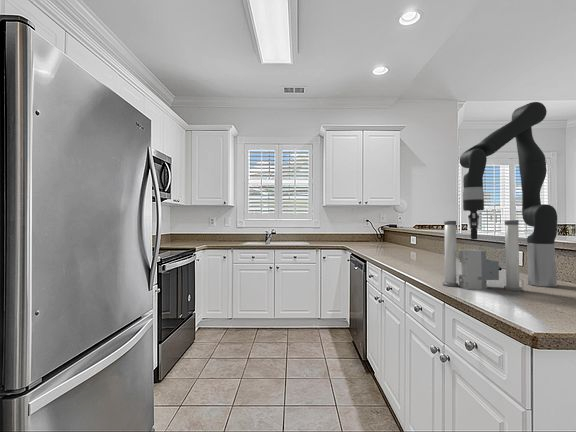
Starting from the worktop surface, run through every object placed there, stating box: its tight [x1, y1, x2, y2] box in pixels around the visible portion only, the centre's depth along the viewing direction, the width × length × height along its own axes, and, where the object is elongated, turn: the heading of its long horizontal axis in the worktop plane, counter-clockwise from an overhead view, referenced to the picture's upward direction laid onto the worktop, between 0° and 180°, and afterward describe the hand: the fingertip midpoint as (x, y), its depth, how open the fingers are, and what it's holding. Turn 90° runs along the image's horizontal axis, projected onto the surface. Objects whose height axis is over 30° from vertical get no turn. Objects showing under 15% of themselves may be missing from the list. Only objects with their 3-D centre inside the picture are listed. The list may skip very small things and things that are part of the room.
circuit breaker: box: [457, 249, 503, 290], centre depth 140 cm, size 8×14×15 cm, turn 78°
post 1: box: [442, 220, 460, 288], centre depth 146 cm, size 6×6×27 cm
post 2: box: [503, 219, 523, 292], centre depth 135 cm, size 6×6×27 cm
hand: (474, 238), depth 141 cm, fingers open, 8 cm apart
